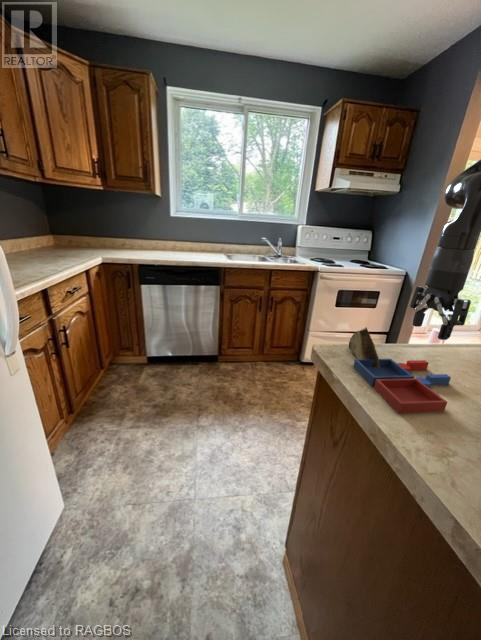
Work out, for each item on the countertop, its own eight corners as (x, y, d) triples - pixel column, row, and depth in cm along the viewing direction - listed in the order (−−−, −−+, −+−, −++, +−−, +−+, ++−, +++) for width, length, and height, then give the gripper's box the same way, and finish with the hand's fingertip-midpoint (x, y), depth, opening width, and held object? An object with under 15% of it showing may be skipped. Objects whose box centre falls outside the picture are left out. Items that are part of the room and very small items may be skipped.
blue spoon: (440, 379, 68) (443, 372, 67) (451, 387, 65) (454, 379, 64) (411, 380, 67) (413, 372, 66) (420, 388, 64) (423, 380, 63)
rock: (339, 338, 82) (338, 347, 73) (362, 319, 79) (364, 326, 70) (366, 364, 81) (368, 377, 72) (390, 346, 78) (396, 357, 69)
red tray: (413, 387, 64) (416, 378, 63) (444, 411, 56) (447, 402, 55) (373, 388, 63) (375, 379, 62) (398, 413, 55) (401, 403, 54)
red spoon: (420, 365, 74) (422, 358, 73) (429, 371, 71) (431, 364, 70) (393, 366, 73) (395, 358, 72) (401, 372, 70) (403, 364, 69)
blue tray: (388, 366, 73) (391, 358, 72) (411, 385, 65) (414, 376, 64) (353, 367, 72) (354, 359, 71) (371, 386, 63) (374, 377, 63)
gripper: (493, 274, 57) (466, 344, 63) (439, 264, 70) (421, 322, 76) (461, 273, 56) (437, 344, 62) (412, 263, 69) (396, 322, 75)
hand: (428, 332), depth 69 cm, fingers open, 8 cm apart
